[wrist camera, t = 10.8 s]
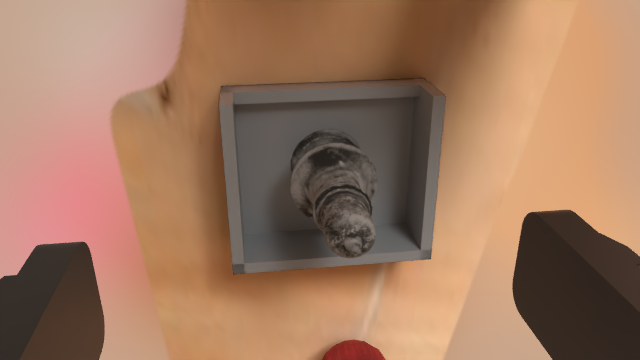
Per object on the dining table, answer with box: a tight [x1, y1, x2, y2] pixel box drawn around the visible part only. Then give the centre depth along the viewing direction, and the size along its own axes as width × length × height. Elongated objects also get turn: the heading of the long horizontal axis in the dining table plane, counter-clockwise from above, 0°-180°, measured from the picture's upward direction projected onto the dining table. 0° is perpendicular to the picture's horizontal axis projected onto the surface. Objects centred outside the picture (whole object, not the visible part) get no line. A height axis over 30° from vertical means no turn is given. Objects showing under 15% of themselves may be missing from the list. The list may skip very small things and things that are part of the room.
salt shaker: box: [290, 129, 378, 258], centre depth 34 cm, size 6×6×12 cm
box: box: [219, 78, 446, 274], centre depth 38 cm, size 12×14×4 cm
